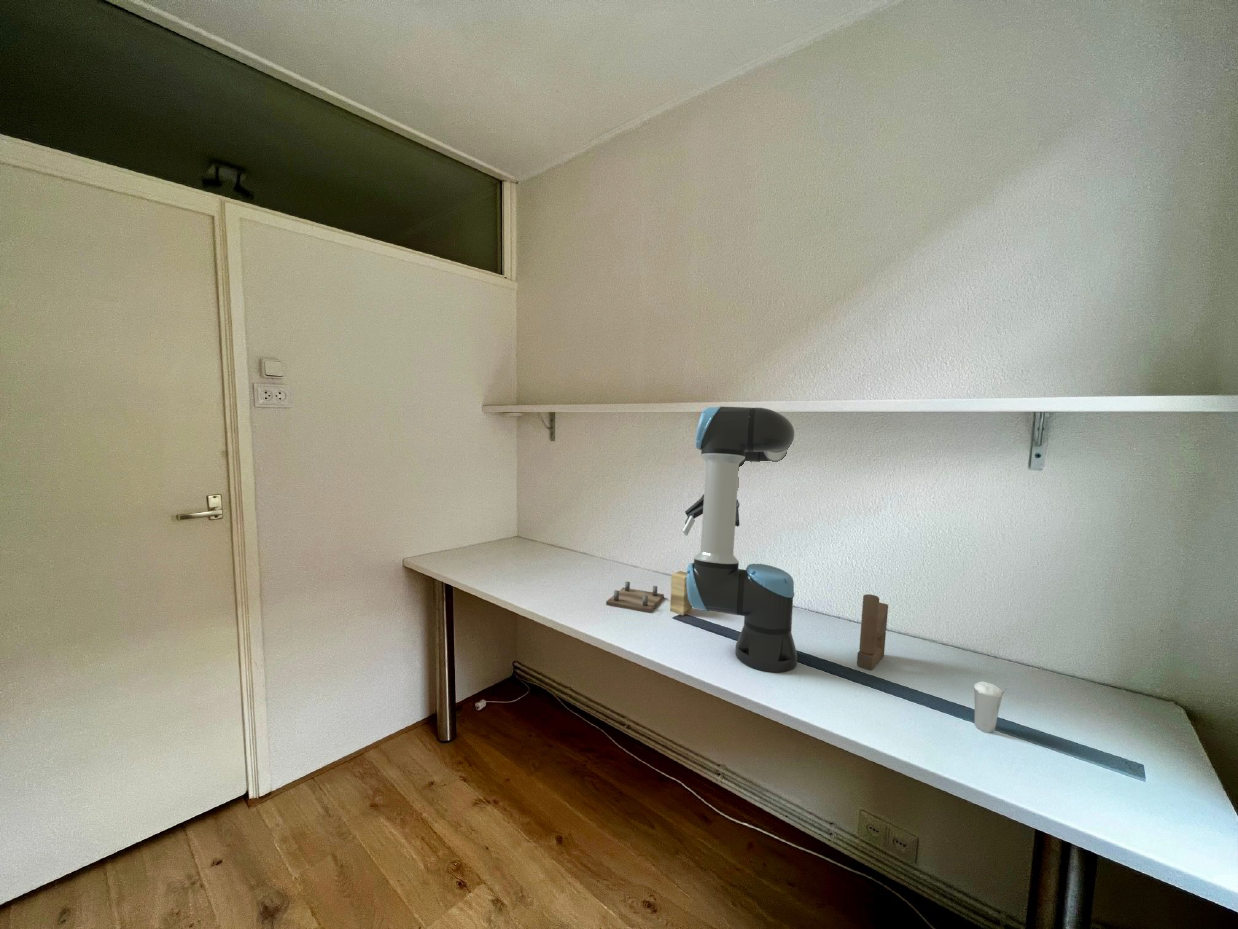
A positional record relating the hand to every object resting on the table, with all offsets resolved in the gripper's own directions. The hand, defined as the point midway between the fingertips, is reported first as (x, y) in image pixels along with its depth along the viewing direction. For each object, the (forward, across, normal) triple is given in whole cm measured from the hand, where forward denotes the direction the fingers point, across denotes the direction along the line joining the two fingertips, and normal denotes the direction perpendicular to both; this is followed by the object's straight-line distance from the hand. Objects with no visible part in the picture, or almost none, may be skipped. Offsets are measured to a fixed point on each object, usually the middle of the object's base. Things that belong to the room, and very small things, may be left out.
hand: (701, 537), depth 162 cm
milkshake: (+28, -80, -3) cm, 84 cm away
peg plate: (+26, +15, -5) cm, 31 cm away
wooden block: (+18, -54, -13) cm, 59 cm away
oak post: (+24, -1, -8) cm, 25 cm away
